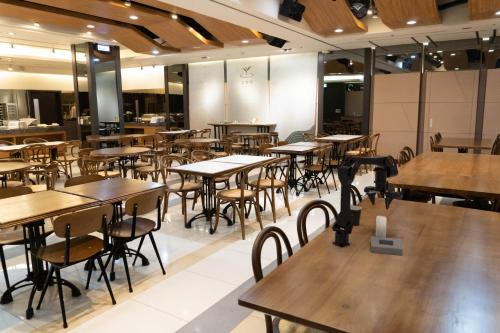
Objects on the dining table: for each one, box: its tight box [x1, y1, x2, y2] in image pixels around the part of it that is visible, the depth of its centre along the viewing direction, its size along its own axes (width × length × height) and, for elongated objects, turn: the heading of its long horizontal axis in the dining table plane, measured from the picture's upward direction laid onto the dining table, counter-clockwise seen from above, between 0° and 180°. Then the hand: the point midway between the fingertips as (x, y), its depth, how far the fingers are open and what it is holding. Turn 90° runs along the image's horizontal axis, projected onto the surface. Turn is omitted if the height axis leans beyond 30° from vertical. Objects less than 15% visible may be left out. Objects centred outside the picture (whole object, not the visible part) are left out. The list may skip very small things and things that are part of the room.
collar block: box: [370, 236, 403, 256], centre depth 184 cm, size 14×14×3 cm
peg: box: [375, 215, 387, 238], centre depth 195 cm, size 5×5×12 cm
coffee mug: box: [350, 205, 362, 227], centre depth 222 cm, size 12×9×10 cm
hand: (380, 207), depth 202 cm, fingers open, 9 cm apart
